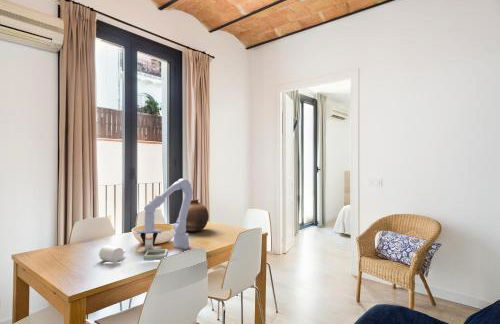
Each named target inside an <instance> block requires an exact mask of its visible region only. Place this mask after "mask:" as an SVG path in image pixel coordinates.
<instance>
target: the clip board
mask: <svg viewBox="0 0 500 324" xmlns="http://www.w3.org/2000/svg"><path fill="white" fill-rule="evenodd" d="M162 247H163V246H161V245H160V246H153V249H152V250H154V249H162ZM147 250H151V245H146V246H138V247H137V249H136V250H135V253H146V252H147Z"/></svg>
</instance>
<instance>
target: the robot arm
mask: <svg viewBox="0 0 500 324" xmlns="http://www.w3.org/2000/svg"><path fill="white" fill-rule="evenodd" d="M178 190H179V191H180V190H181V191H182V192H183V194H184V195H183V199H182V202H181V207H180V210H179V213H180V214H179V213H178V217H177V219H176V222H175V223H174V225H173V229H174V233H173V248H177V249H179V248H180V249H182V250H185V249H186V250H187V249H189V245H190V242H189V239H190V238H189V235H190V234H189V233H188V232H187V231H186V218H187V214H188V210H189V207H190V203H191V200H193V199H192V198H193V196H194V193H193V192H194V191H193V188H192V184H191V183H190V181H189V180H188V179H185V178H179V179H178V180H176V181H175V182H174V183H173V184H171V185H170V186H169V187H168V188H167V189H166V190H165V191H164V192H163V193H162V194H157V195H155V196H154V198H153V199H151V201H148V203H146V204H145V205H144V208H143V209H144V211H145V212H144V228H143V229H137V230H136V235H140V238H141V239H142V243H143V247H145V238H146V237H147V236H146V235H148V234H152V237H153V247H155V242H156V239H157V237H158V234H160V235H161V234H162V229H155V212H156V210H157V209H158V208H159V207H160V206H162V204H164V203H165V202H166V199H167V197H169V196H170V195H172V194H173V193H174V192H175V191H178Z"/></svg>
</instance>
